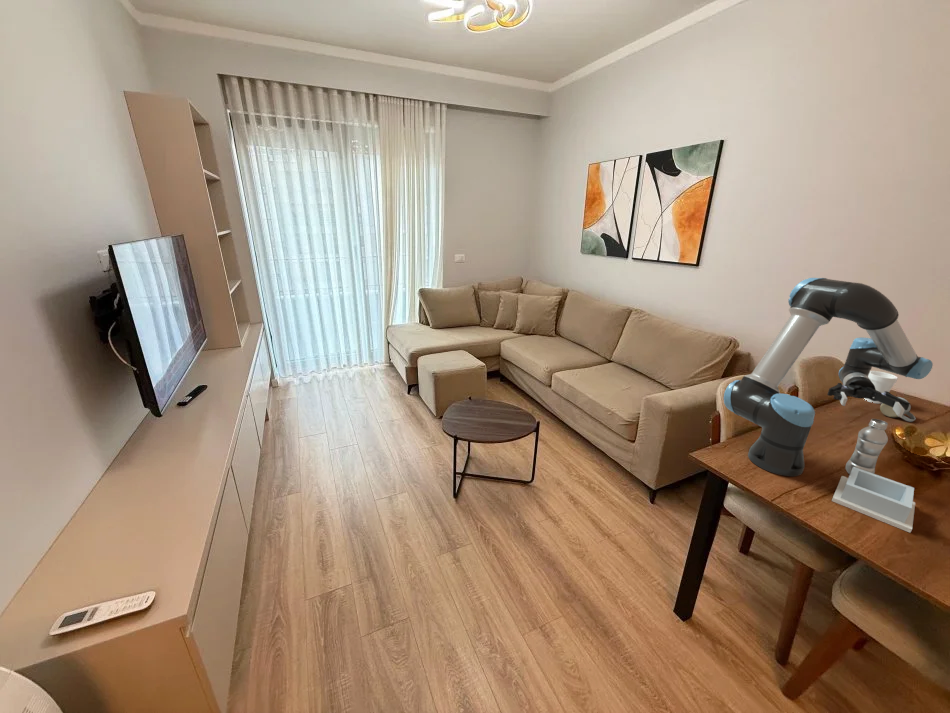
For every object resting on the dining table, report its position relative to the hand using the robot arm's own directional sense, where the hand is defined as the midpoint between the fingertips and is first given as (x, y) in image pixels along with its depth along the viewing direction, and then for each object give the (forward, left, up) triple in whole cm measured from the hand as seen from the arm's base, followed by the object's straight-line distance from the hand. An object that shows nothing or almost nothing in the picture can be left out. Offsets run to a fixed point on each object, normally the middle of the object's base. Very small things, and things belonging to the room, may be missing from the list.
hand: (872, 407), depth 126 cm
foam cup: (+18, +70, -21) cm, 75 cm away
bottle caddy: (+1, -26, -20) cm, 33 cm away
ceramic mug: (+22, +55, -21) cm, 63 cm away
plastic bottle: (0, -11, -21) cm, 23 cm away
